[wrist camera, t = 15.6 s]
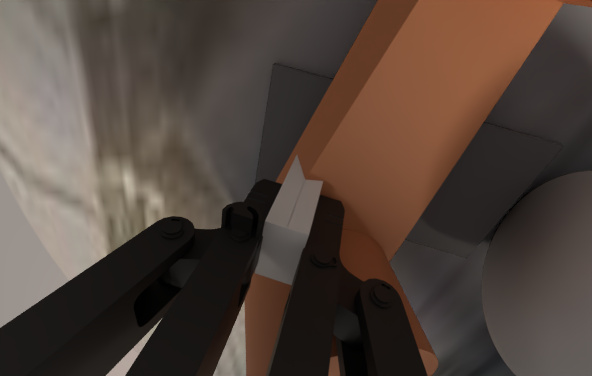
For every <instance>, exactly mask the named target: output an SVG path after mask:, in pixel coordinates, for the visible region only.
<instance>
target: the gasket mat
mask: <svg viewBox="0 0 592 376" xmlns="http://www.w3.org/2000/svg"><path fill="white" fill-rule="evenodd" d="M332 81H333V79H329V78H326V77H322V76H319V75H315V74H311V73H308V72H304V71H301V70H297V69H294V68H290V67H287V66H283V65H280V64H276V63H275V64H273V70H272V76H271V83H270V90H269V96H268V103H267V109H266V116H265V122H264V129H263V135H262V142H261V148H260V155H259V162H258V168H257V175H256V181H255V183H257V182H259V181H260V180H262V179H267V180H271V181H274V182H276V180H277V178H278V176H279V175H280V173H281V171H282V169H283V168H284V166H285V164H286V162H287V161H288V159H289V157H290V155H291V153H292V152H293V150H294V148H295V146H296V145H297V143H298V141H299V139H300V137H301V136H302V134H303V132H304V130H305V129H306V127H307V125H308V123H309V122H310V120H311V118H312V116H313V114H314V113H315V111H316V109H317V107H318V106H319V104H320V102H321V100H322V99H323V97H324V95H325V93H326V91H327V90H328V88H329V86H330V84H331V83H332ZM563 147H564V146H563V145H561V144H559V143H556V142H552V141H549V140H545V139H542V138H538V137H535V136H531V135H528V134H524V133H520V132H517V131H513V130H510V129H506V128H503V127H499V126H496V125H492V124H489V123H485V122H483V124H482V125H481V127H480V128H479V130H478V131H477V133H476V134H475V136H474V137H473V139H472V140H471V142H470V143H469V145H468V146H467V148H466V149H465V151H464V152H463V154H462V155H461V157H460V158H459V160H458V161H457V163H456V164H455V166H454V167H453V168H452V170H451V171H450V173H449V174H448V176H447V177H446V179H445V180H444V182H443V183H442V185H441V186H440V188H439V189H438V191H437V192H436V194H435V195H434V197H433V198H432V200H431V201H430V203H429V204H428V206H427V207H426V209H425V210H424V212H423V213H422V215H421V216H420V218H419V219H418V221H417V222H416V224H415V225H414V227H413V228H412V230H411V231H410V232H409V234H408V235H407V237H406V238H405V239H406V240H409V241H412V242H415V243H419V244H422V245H425V246H428V247H431V248H435V249H438V250H441V251H444V252H447V253H451V254H454V255H457V256H460V257H463V258H467V257H468V256H469V255H470V254H471V253H472V252H473V251H474V249H475V248H476V247H477V246H478V245H479V244H480V243H481V241H482V240H483V239H484V238H485V237H486V236H487V234H488V233H489V232H490V231H491V230H492V229H493V228H494V226H495V225H496V224H497V223H498V222H499V221H500V219H501V218H502V217H503V216H504V215H505V214H506V213H507V211H508V210H509V209H510V208H511V207H512V206H513V205H514V203H515V202H516V201H517V200H518V199H519V198H520V196H521V195H522V194H523V193H524V192H525V191H526V190H527V188H528V187H529V186H530V185H531V184H532V183H533V182H534V180H535V179H536V178H537V177H538V176H539V175H540V173H541V172H542V171H543V170H544V169H545V168H546V167H547V165H548V164H549V163H550V162H551V161H552V160H553V158H554V157H555V156H556V155H557V154H558V153H559V152H560V150H561V149H562V148H563Z"/></svg>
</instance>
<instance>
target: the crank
mask: <svg viewBox="0 0 592 376" xmlns="http://www.w3.org/2000/svg"><path fill="white" fill-rule="evenodd" d="M563 3H566V4H573V5H580V6H587V7H592V0H378V1H377V3H376V5H375V6H374V8H373V10H372V12H371V13H370V15H369V17H368V19H367V21H366V22H365V24H364V26H363V28H362V29H361V31H360V33H359V35H358V36H357V38H356V40H355V42H354V44H353V45H352V47H351V49H350V51H349V52H348V54H347V56H346V58H345V60H344V61H343V63H342V65H341V67H340V68H339V70H338V72H337V74H336V75H335V77H334V79H333V81H332V83H331V84H330V86H329V88H328V90H327V91H326V93H325V95H324V97H323V99H322V100H321V102H320V104H319V106H318V107H317V109H316V111H315V113H314V114H313V116H312V118H311V120H310V122H309V123H308V125H307V127H306V129H305V130H304V132H303V134H302V136H301V137H300V139H299V141H298V143H297V145H296V146H295V148H294V150H293V152H292V153H291V155H290V157H289V159H288V161H287V162H286V164H285V166H284V168H283V169H282V171H281V173H280V175H279V176H278V178H277V180H276V182H277V183H280V184H283V182H284V180H285V178H286V176H287V174H288V172H289V170H290V168H291V166H292V163H293V161H294V159H295V157H296V155H297V156H298V159H299V162H300V165H301V168H302V171H303V174H304V177H305V180H318V181H323V184H322V188H321V192H320V195H322V196H326V197H329V198H332V199H336V200H339V201H341V202H342V204H343V207H344V209H345V214H344V221H343V229H342V237H341V245H340V259H341V262H342V264H343V265H344V267H345V268H346V269H347V270H348V271H349V272H350V273H351V274H353V275H354V276H356V277H357V278H359V279H361V280H362V281H366V280H368V279H373V278H377V279H380V280H384V281H385V282H387V283H389V284H390V285H392V286H393V287H394V289H395V290H396V291H397V292H398V294H399V295H400V297H401V299H402V302H403V305H404V308H405V311H406V314H407V317H408V320H409V323H410V325H411V328H412V331H413V334H414V337H415V340H416V343H417V346H418V349H419V352H420V355H421V358H422V361H423V364H424V367H425V369H426V372H427V375H428V376H432V375H433V373H434V372H435V371H436V369H437V367H438V359H437V357H436V355H435V353H434V351H433V349H432V347H431V345H430V343H429V341H428V339H427V337H426V335H425V333H424V331H423V329H422V327H421V325H420V323H419V321H418V319H417V317H416V315H415V313H414V311H413V309H412V307H411V305H410V303H409V301H408V299H407V297H406V295H405V293H404V291H403V289H402V287H401V285H400V283H399V281H398V279H397V277H396V275H395V273H394V271H393V269H392V267H391V265H390V263H389V262H390V261H391V259H392V258H393V256H394V255H395V253H396V252H397V250H398V249H399V247H400V246H401V244H402V243H403V241H404V240H405V238H406V237H407V235H408V234H409V232H410V231H411V230H412V228H413V227H414V225H415V224H416V222H417V221H418V219H419V218H420V216H421V215H422V213H423V212H424V210H425V209H426V207H427V206H428V204H429V203H430V201H431V200H432V198H433V197H434V195H435V194H436V192H437V191H438V189H439V188H440V186H441V185H442V183H443V182H444V180H445V179H446V177H447V176H448V174H449V173H450V171H451V170H452V168H453V167H454V166H455V164H456V163H457V161H458V160H459V158H460V157H461V155H462V154H463V152H464V151H465V149H466V148H467V146H468V145H469V143H470V142H471V140H472V139H473V137H474V136H475V134H476V133H477V131H478V130H479V128H480V127H481V125H482V124H483V122H484V121H485V119H486V118H487V116H488V115H489V113H490V112H491V110H492V109H493V107H494V106H495V104H496V103H497V102H498V100H499V99H500V97H501V96H502V94H503V93H504V91H505V90H506V88H507V87H508V85H509V84H510V82H511V81H512V79H513V78H514V76H515V75H516V73H517V72H518V70H519V69H520V67H521V66H522V64H523V63H524V61H525V60H526V58H527V57H528V55H529V54H530V52H531V51H532V49H533V48H534V46H535V45H536V43H537V42H538V41H539V39H540V38H541V36H542V35H543V33H544V32H545V30H546V29H547V27H548V26H549V24H550V23H551V21H552V20H553V18H554V17H555V15H556V14H557V12H558V11H559V9H560V8H561V6H562V5H563ZM255 270H256V269H255ZM291 286H292V285H289V284H286V283H283V282H280V281H277V280H274V279H271V278H268V277H265V276H262V275H259V274H256V273H255V271H254V274H253V276H252V279H251V284H250V288H249V290H248V292H247V295H246V297H245V334H246V375H247V376H266V373H267V369H268V366H269V362H270V359H271V355H272V352H273V348H274V344H275V341H276V337H277V334H278V330H279V327H280V323H281V320H282V316H283V313H284V308H285V305H286V302H287V298H288V295H289V292H290V289H291ZM328 376H340V371H339V363H338V355H337V346H336V338H335V335H334V334H333V340H332V349H331V357H330V366H329V374H328Z"/></svg>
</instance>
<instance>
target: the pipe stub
mask: <svg viewBox="0 0 592 376" xmlns="http://www.w3.org/2000/svg"><path fill="white" fill-rule="evenodd" d="M481 289H482V305H483V312H484V317H485V321H486V325H487V328H488V331H489V334H490V336H491V339H492V341H493V343H494V345H495V347H496V349H497V351H498V353H499V354H500V356H501V357H502V359H503V360H504V362H505V364H506V365H507V366H508V367H509V368H510V370H511V371H512V372H513V373H514V374H515V375H516V376H592V171H581V172H575V173H570V174H567V175H563V176H560V177H557V178H555V179H552V180H550V181H548V182H546V183H544V184H542V185H540V186H539V187H537V188H535V189H534V190H532V191H531V192H530V193H528V194H527V195H526V196H525V197H523V198H522V199H521V200H520V201H519V202H518V203H517V204H516V205H515V206H514V207H513V208H512V209H511V210H510V211H509V213H508V214H507V215H506V217H505V218H504V219H503V221H502V222H501V224H500V225H499V227H498V229H497V231H496V232H495V234H494V236H493V239H492V241H491V243H490V246H489V249H488V252H487V255H486V258H485V263H484V267H483V274H482V286H481Z"/></svg>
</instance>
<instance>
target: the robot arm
mask: <svg viewBox="0 0 592 376" xmlns="http://www.w3.org/2000/svg"><path fill="white" fill-rule="evenodd" d="M322 184H323V181H318V180H305V177H304V174H303V171H302V168H301V165H300V162H299V159H298V156H297V155H296V157H295V159H294V161H293V163H292V166H291V168H290V170H289V172H288V174H287V176H286V178H285V180H284V182H283V184H280V183H277V182H274V181H271V180H267V179H262V180H260V181H259V182H257V183H255V185H254V186H253V188H252V190H251V192H250V193H249V194H248V196H247V198H246V199H245V201H244V202H236V203H232V204H229V205H227V206H226V207H225V208H224V209H223V210H222V224H221V228H218V229H195V228H194V226H193V223H192V222H190V221H189V220H188V219H186V218H183V217H175V216H172V217H167V218H163V219H161V220H159V221H157V222H156V223H154V224H153V225H151V226H150V227H148V228H147V229H145V230H144V231H142V232H141V233H139V234H138V235H136V236H135V237H133V238H132V239H131V240H129V241H128V242H126V243H125V244H123V245H122V246H120V247H119V248H117V249H116V250H114V251H113V252H111V253H110V254H108V255H107V256H106V257H104V258H103V259H101V260H100V261H98V262H97V263H95V264H94V265H92V266H91V267H89V268H88V269H86V270H85V271H83V272H82V273H81V274H79V275H78V276H76V277H75V278H73V279H72V280H70V281H69V282H67V283H66V284H64V285H63V286H61V287H60V288H58V289H57V290H55V291H54V292H53V293H51V294H50V295H48V296H47V297H45V298H44V299H42V300H41V301H39V302H38V303H36V304H35V305H34V306H32V307H31V308H29V309H28V310H26V311H25V312H23V313H22V314H20V315H19V316H17V317H16V318H14V319H13V320H12V321H10V322H8V323H7V324H6V325H4V326H2V327H1V328H0V376H106V375H107V374H108V373H109V371H111V370H112V368H114V366H115V365H116V364H117V363H118V362H119V361H120V360H121V359H122V358H123V357H124V356H125V355H126V354H127V353H128V352H129V351H130V350H131V349H132V348H133V347H134V346H135V345H136V344H137V343H138V342H139V341H140V340H141V339H142V338H143V337H144V336H145V335H146V334H147V333H148V332H149V331H150V330H151V329H152V328H153V327H154V326H155V325H156V324H157V323H158V322H159V321H160V320H161V319H162V320H161V321H160V323H159V324H158V326H157V328H156V329H155V331H154V332H153V334H152V335H151V337H150V338H149V340H148V341H147V343H146V344H145V346H144V348H143V349H142V351H141V352H140V354H139V355H138V357H137V358H136V360H135V361H134V363H133V364H132V366H131V368H130V369H129V371H128V372H127V374H126V376H213V374H214V371H215V369H216V366H217V364H218V362H219V359H220V357H221V354H222V352H223V350H224V347H225V345H226V343H227V340H228V338H229V335H230V333H231V331H232V328H233V326H234V323H235V321H236V319H237V316H238V314H239V312H240V309H241V307H242V304H243V302H244V300H245V297H246V295H247V292H248V290H249V288H250V284H251V279H252V276H253V274H254V271H255V273H256V274H259V275H262V276H265V277H268V278H271V279H274V280H277V281H280V282H283V283H286V284H289V285H292V286H291V289H290V292H289V295H288V298H287V302H286V305H285V308H284V313H283V316H282V320H281V323H280V327H279V330H278V334H277V337H276V341H275V344H274V348H273V352H272V355H271V359H270V362H269V366H268V369H267V373H266V376H328V374H329V366H330V357H331V349H332V340H333V334H334V335H335V338H336V346H337V355H338V363H339V371H340V376H428V375H427V372H426V369H425V367H424V364H423V361H422V358H421V355H420V352H419V349H418V346H417V343H416V340H415V337H414V334H413V331H412V328H411V325H410V323H409V320H408V317H407V314H406V311H405V308H404V305H403V302H402V299H401V297H400V295H399V294H398V292H397V291H396V290H395V289H394V287H393V286H392V285H390V284H389V283H387V282H385V281H384V280H380V279H377V278H373V279H368V280H366V281H362V280H361V279H359V278H357V277H356V276H354V275H353V274H351V273H350V272H349V271H348V270H347V269H346V268H345V267H344V265H343V264H342V262H341V259H340V245H341V237H342V229H343V221H344V214H345V209H344V207H343V204H342V202H341V201H339V200H336V199H332V198H329V197H326V196H322V195H320V192H321V188H322ZM255 269H256V270H255Z"/></svg>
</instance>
